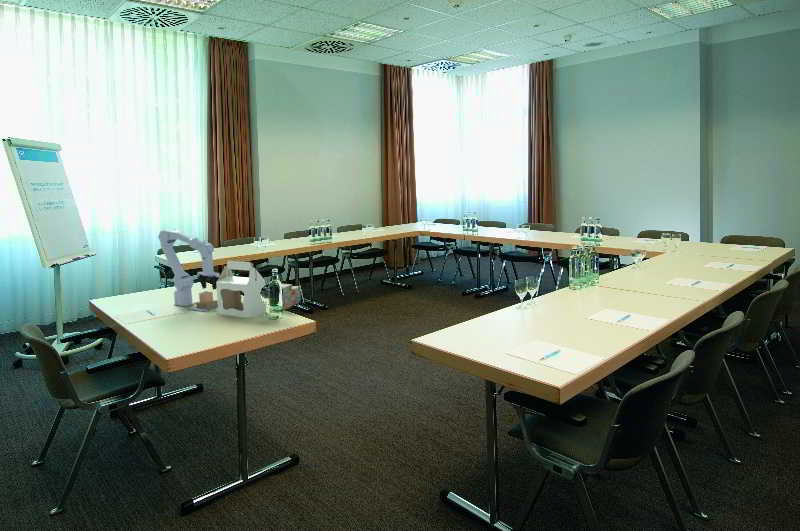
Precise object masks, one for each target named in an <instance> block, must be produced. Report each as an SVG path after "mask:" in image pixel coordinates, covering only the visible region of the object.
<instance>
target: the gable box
mask: <svg viewBox="0 0 800 531" xmlns="http://www.w3.org/2000/svg"><path fill="white" fill-rule="evenodd" d="M226 264H227V265H224V266H223V269H222V271H221V272H220V273H219V278H218V280H217V282H216V286H217V288H216V293H217V294H216V295H217V296H216V297H217V298H216V299H217V300H218V308H217V309H218V315H220V316H229V317H239V318H246V319H251V318H255V317H257V316H260V315H263V314H266V313H265V312H266V305H267V303H266V304H265V303H264V301H262V299H261V296H260V292H261V289H262V288H263V287H264V286H265V287H266V280H265V279H264V278H263V276H262V275H261V274H260V273H259V271H258V270H257V268H255V267H254V263H252V262H251V261H240V260H227V263H226ZM232 270H234V271H236V270H238V271H249V273H248V277H243V276H234V274H233V271H232ZM241 292H242V293H243V294H244V295H243V300H242V295H241Z"/></svg>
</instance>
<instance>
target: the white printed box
mask: <svg viewBox="0 0 800 531" xmlns="http://www.w3.org/2000/svg"><path fill="white" fill-rule="evenodd" d="M281 284H282V289H283V309H284V310H283V311H285V310H287V309H289V308H292V307H293V306H295V305H297V304H299V303H301V302H302V301H301V300H302V299H301V298H302V297H301V286H299V285H297V286H296V285H295V286H293V284H292V283H291V284H289V283H281Z"/></svg>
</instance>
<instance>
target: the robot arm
mask: <svg viewBox="0 0 800 531" xmlns="http://www.w3.org/2000/svg"><path fill="white" fill-rule="evenodd" d="M157 237H158V240H159V242H160V248H161V250H162V252H163V254H164V257H165V259H166V261H167V263H168V265H169V266H170V268H171V270H172V273H173V274H174V276H173V279H172V281H173V283H174V284H173V285H174V287H175V291H174V292H173V296H174V303H173V305H174V306H181V307H188V306H191V305H194V304H195V305H196V302H197V301H196V302H195V301H193V293H192V292H193V291H192V288H193V285H194V283H195V282H194V279H193V277H192V276H190V274H189V273H188V272H186V271H185V270H184V267H183V266H182V264H181V262H180V260H179V258H178V256H177V252H175V249H174V247H173V246H174V244H175V243H176V242H177V240H179V241H181V242H183V243H185V244H188V246H189V248H192V249H194V250H196V251H197V252H199V254H200V257H201V266H202V271H198V272H197V280H198V281H199V283H200V285H201V287H202V289H207V278H208V277H209V279H210V282H211V288H212V290H213V291H214V290H217V286H216V282H217V280H218V278H219V276H220V272H215V271H214V263H213V262H214V260H213V259H214V258H213V253H214V251H215V248H214V245H213V244H212V243H211V242H206V241H205V240H204V241H202V240H201V239H199V237H193V238H191V237H190V236H188V235H186V234H185V233H183V232H181V231H180V230H178V229H176V228H172V229H162V230H160V231H159V233H158V236H157Z"/></svg>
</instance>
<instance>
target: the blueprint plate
mask: <svg viewBox="0 0 800 531" xmlns="http://www.w3.org/2000/svg"><path fill="white" fill-rule="evenodd" d="M214 309H218V299H213V301H210V302H207V303H206V302H200V300H199V301H196V303H195V306H193V307H190V308H188V311H193V312H202V313H203V312H204V313H205V312H209V311H212V310H214Z"/></svg>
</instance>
